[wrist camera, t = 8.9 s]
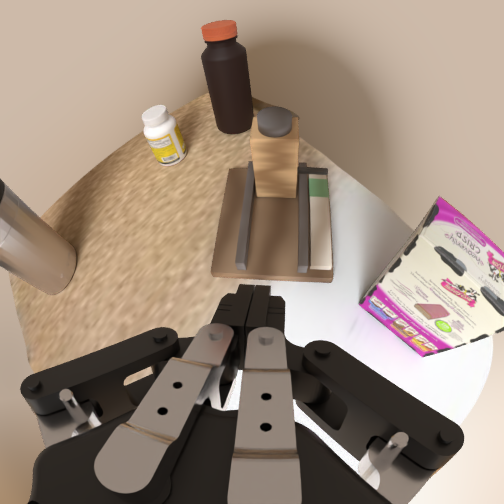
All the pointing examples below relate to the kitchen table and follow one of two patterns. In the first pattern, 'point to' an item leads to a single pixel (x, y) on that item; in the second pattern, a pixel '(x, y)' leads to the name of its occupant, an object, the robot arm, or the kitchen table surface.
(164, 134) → the supplement bottle
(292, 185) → the block
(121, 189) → the kitchen table surface
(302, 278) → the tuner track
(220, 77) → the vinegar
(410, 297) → the candy bar box
